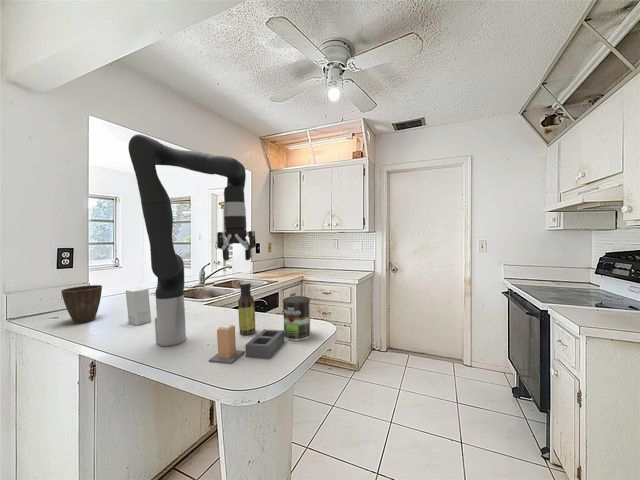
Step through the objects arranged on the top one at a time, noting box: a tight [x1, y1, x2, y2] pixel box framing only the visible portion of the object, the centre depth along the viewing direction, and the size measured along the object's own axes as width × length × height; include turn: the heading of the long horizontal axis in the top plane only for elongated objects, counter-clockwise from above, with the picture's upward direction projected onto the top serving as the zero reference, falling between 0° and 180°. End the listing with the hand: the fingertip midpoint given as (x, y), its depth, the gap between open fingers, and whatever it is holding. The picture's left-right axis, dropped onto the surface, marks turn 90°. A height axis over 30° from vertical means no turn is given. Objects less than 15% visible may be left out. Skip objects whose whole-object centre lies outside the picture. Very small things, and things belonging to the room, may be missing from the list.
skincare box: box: [125, 287, 152, 326], centre depth 129 cm, size 8×7×16 cm
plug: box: [216, 323, 237, 358], centre depth 90 cm, size 4×4×10 cm
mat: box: [208, 349, 246, 365], centre depth 91 cm, size 8×8×1 cm
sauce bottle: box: [237, 282, 256, 336], centre depth 112 cm, size 6×6×20 cm
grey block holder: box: [244, 328, 286, 360], centre depth 96 cm, size 8×14×4 cm, turn 166°
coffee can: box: [282, 295, 312, 342], centre depth 107 cm, size 10×10×14 cm
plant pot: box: [60, 284, 103, 324], centre depth 134 cm, size 15×15×16 cm
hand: (237, 260), depth 102 cm, fingers open, 8 cm apart
